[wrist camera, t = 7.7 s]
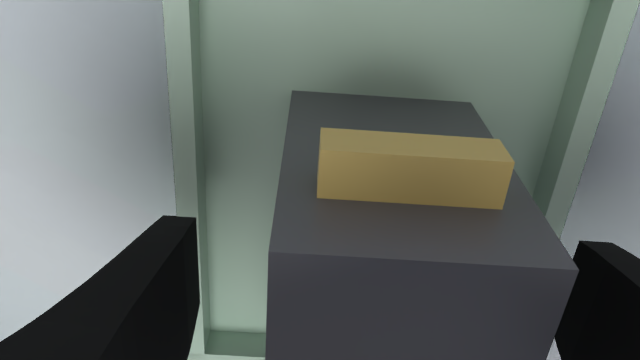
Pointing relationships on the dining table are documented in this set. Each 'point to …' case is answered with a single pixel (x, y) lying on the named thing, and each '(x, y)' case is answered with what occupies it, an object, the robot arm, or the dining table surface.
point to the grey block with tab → (407, 238)
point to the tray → (374, 80)
